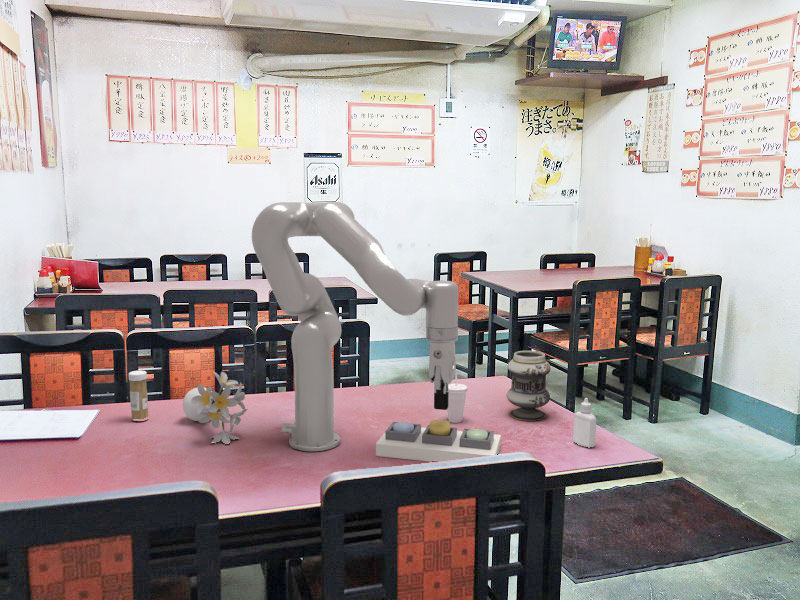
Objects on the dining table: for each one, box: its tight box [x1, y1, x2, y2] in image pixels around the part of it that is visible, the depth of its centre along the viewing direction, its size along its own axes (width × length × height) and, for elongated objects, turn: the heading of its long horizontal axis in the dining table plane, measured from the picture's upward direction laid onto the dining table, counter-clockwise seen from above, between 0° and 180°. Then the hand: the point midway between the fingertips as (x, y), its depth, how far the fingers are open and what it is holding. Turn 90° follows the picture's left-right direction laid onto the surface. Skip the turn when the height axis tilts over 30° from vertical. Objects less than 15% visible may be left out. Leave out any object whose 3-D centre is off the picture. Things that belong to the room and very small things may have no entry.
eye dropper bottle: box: [572, 397, 597, 449], centre depth 164 cm, size 4×6×12 cm
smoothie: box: [446, 369, 469, 424], centre depth 181 cm, size 6×6×14 cm
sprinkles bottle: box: [128, 370, 149, 419], centre depth 179 cm, size 5×5×14 cm
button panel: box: [375, 421, 502, 463], centre depth 160 cm, size 28×14×5 cm, turn 76°
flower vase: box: [182, 371, 248, 444], centre depth 172 cm, size 13×18×25 cm
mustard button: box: [429, 419, 451, 436], centre depth 159 cm, size 5×5×2 cm
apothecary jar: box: [506, 350, 552, 422], centre depth 186 cm, size 12×12×18 cm
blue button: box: [393, 421, 414, 433], centre depth 162 cm, size 5×5×2 cm
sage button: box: [466, 428, 488, 440], centre depth 157 cm, size 5×5×2 cm
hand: (441, 408), depth 158 cm, fingers closed
